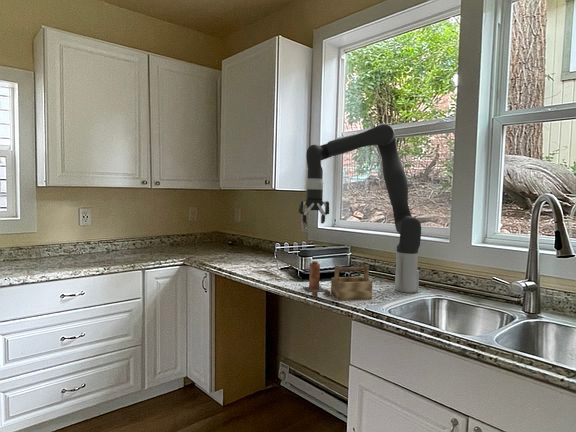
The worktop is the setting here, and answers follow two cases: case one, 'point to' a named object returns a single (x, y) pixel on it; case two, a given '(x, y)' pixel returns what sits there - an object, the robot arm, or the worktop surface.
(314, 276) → the reddish brown cylinder
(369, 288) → the toolbox
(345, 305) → the worktop surface
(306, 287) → the pad
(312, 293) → the keeper
